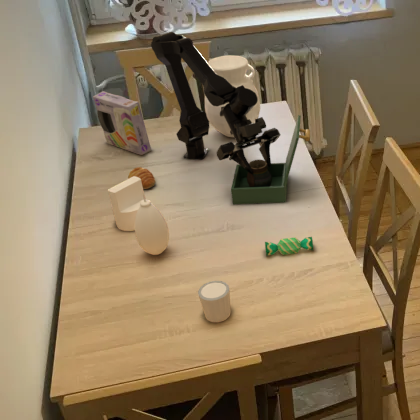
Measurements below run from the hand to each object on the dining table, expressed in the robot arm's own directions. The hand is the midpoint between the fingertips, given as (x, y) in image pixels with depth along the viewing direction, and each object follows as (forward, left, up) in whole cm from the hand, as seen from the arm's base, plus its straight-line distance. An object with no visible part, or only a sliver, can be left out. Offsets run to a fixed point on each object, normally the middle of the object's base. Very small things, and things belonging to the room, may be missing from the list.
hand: (261, 170), depth 189 cm
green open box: (-1, -1, -7) cm, 8 cm away
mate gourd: (-1, -1, -7) cm, 7 cm away
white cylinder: (+53, +3, -8) cm, 54 cm away
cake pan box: (-24, -53, -8) cm, 59 cm away
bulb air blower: (+32, -20, -8) cm, 38 cm away
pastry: (-2, -38, -8) cm, 39 cm away
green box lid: (-3, +9, +6) cm, 11 cm away
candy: (+28, +14, -8) cm, 32 cm away
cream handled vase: (-39, -20, -8) cm, 44 cm away
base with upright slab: (+19, -32, -8) cm, 38 cm away
